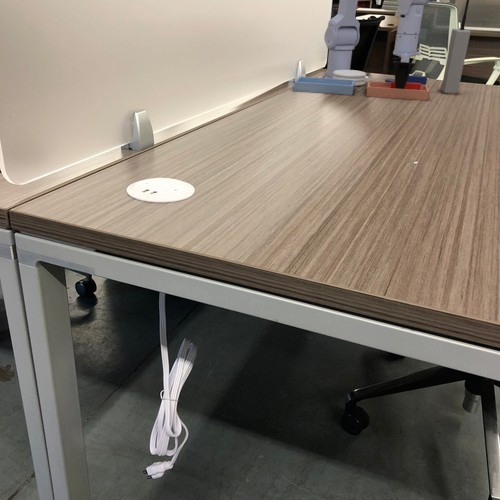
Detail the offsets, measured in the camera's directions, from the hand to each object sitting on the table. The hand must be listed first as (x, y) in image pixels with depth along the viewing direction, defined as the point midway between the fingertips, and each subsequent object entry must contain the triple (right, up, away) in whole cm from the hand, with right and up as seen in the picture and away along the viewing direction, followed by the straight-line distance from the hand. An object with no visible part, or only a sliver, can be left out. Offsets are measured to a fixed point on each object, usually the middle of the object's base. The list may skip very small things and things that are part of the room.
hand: (399, 87), depth 140 cm
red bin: (-1, -2, +1) cm, 2 cm away
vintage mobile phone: (+16, +1, +7) cm, 18 cm away
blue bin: (-20, +1, +5) cm, 21 cm away
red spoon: (0, -1, +1) cm, 2 cm away
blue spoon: (+6, +5, +15) cm, 17 cm away
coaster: (-11, +6, +15) cm, 20 cm away
